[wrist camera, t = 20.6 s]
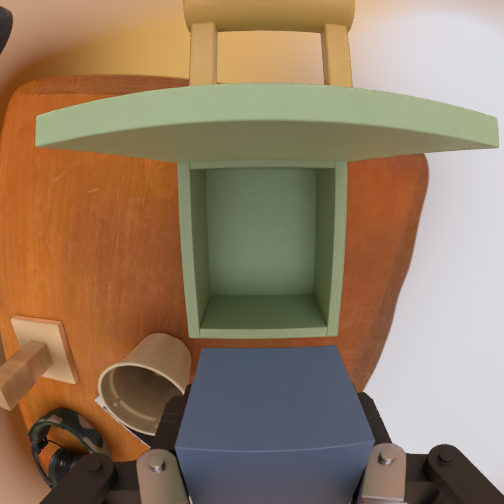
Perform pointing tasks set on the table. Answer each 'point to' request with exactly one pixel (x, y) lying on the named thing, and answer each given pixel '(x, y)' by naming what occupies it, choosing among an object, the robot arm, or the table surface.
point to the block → (272, 428)
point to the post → (35, 358)
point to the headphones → (63, 457)
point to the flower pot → (146, 381)
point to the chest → (262, 247)
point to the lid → (266, 103)
